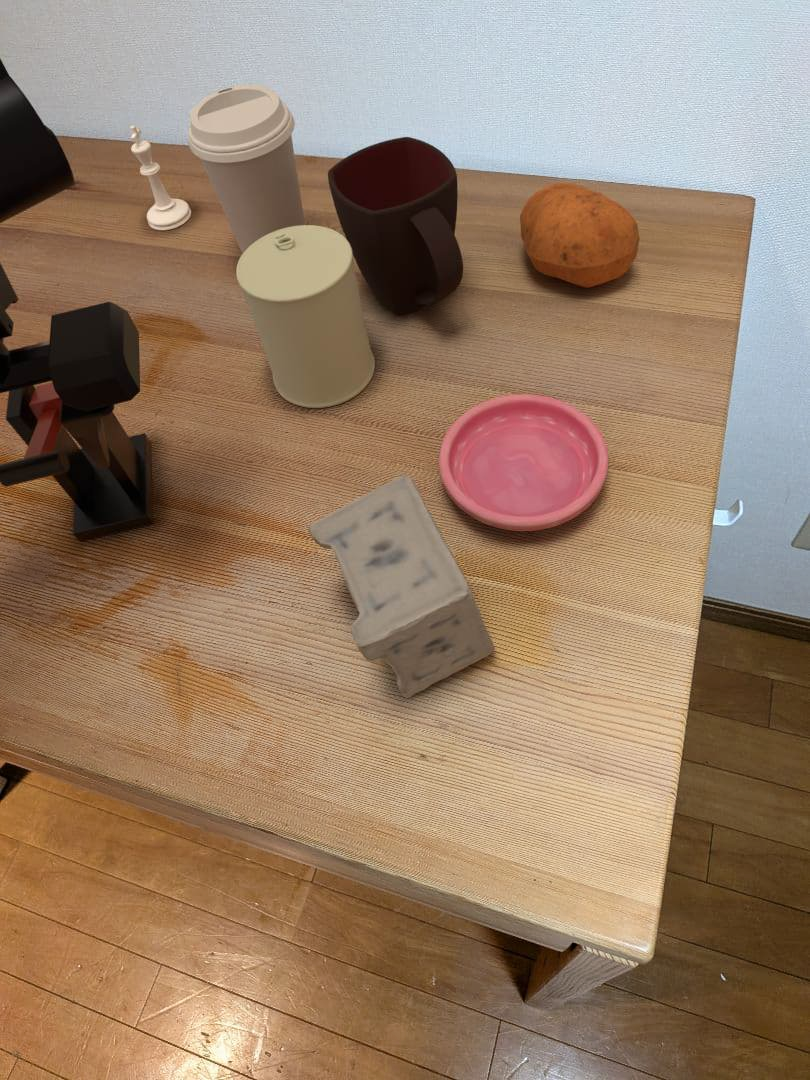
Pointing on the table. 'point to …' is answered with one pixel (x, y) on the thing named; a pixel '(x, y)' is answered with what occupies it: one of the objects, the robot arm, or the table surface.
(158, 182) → the chess piece
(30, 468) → the lever
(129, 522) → the bracket
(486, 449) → the saucer
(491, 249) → the table surface
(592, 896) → the table surface
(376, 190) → the mug
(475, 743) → the table surface
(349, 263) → the can
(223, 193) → the coffee cup
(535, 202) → the potato
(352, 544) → the incense holder
